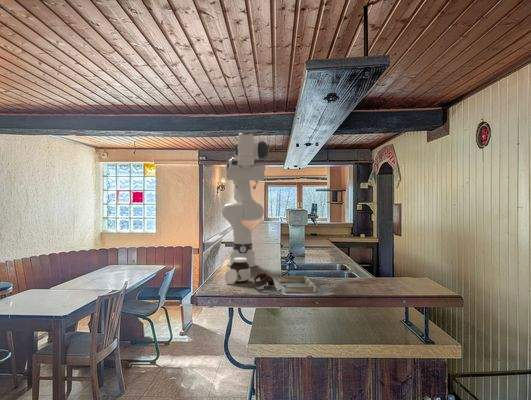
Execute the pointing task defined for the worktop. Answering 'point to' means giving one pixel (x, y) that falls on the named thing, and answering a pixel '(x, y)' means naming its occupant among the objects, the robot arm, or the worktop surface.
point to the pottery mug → (263, 280)
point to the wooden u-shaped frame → (309, 288)
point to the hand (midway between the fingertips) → (245, 189)
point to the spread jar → (238, 271)
